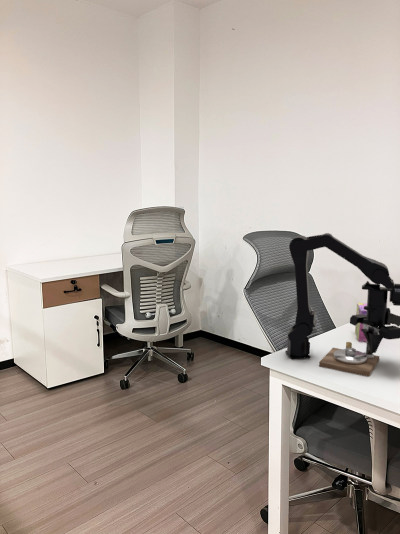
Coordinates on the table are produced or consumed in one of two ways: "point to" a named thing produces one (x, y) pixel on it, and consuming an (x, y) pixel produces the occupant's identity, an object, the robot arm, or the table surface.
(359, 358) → the flange
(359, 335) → the box
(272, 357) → the table surface
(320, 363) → the base plate
